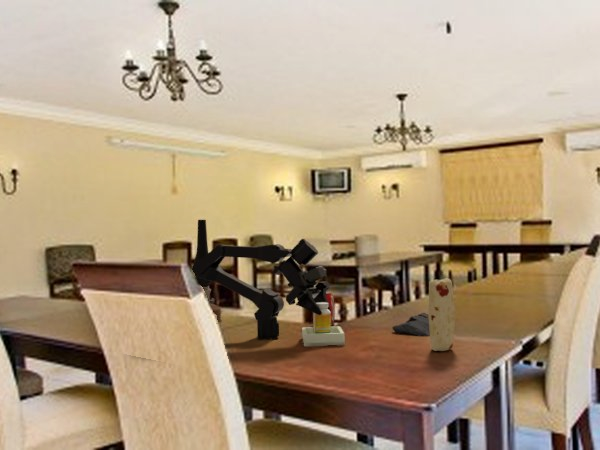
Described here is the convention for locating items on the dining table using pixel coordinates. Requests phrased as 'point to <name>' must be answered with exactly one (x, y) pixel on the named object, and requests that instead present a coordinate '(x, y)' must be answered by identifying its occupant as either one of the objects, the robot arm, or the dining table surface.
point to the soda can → (330, 304)
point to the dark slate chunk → (415, 325)
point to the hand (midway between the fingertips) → (325, 313)
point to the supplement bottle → (322, 319)
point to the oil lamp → (201, 252)
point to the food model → (441, 314)
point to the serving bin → (323, 337)
